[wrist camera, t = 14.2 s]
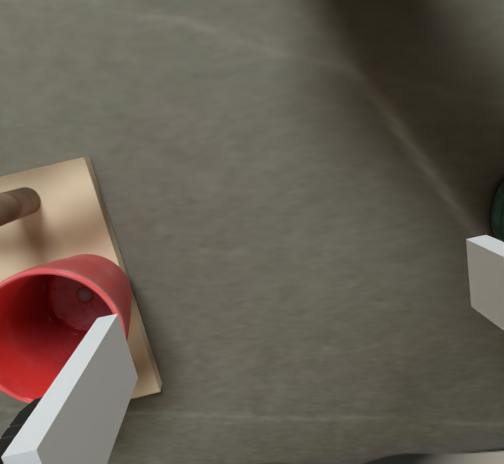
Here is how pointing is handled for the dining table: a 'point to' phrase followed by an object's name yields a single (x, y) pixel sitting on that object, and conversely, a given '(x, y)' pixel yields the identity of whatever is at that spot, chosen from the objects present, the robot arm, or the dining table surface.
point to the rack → (66, 237)
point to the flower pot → (54, 318)
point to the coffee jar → (498, 213)
